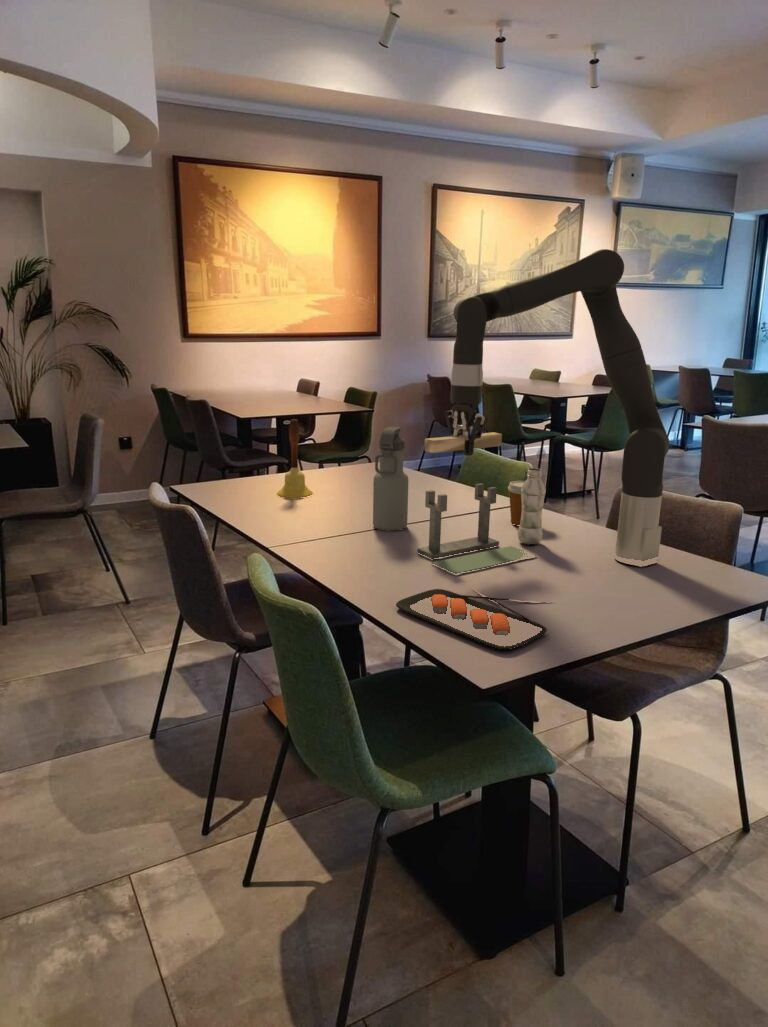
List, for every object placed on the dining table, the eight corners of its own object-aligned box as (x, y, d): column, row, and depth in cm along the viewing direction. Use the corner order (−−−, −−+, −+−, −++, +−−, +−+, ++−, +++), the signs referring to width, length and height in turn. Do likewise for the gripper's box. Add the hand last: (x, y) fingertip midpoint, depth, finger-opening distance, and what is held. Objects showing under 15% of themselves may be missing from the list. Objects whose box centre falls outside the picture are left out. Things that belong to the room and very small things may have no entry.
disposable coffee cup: (524, 530, 203) (527, 489, 200) (498, 523, 210) (501, 483, 207) (545, 525, 209) (548, 484, 205) (520, 518, 216) (522, 479, 213)
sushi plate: (389, 612, 145) (389, 594, 144) (483, 578, 166) (483, 563, 165) (505, 661, 125) (506, 640, 124) (596, 616, 145) (597, 598, 144)
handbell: (279, 489, 247) (278, 416, 240) (315, 490, 246) (315, 417, 240) (273, 498, 235) (271, 421, 228) (310, 499, 234) (310, 422, 228)
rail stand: (499, 546, 187) (502, 486, 183) (431, 560, 175) (434, 496, 171) (483, 541, 192) (486, 482, 188) (417, 554, 180) (419, 491, 176)
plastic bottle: (542, 541, 193) (548, 468, 188) (540, 548, 187) (546, 472, 182) (518, 539, 195) (523, 466, 189) (515, 546, 188) (520, 471, 183)
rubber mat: (536, 557, 179) (536, 555, 179) (455, 575, 165) (455, 573, 165) (511, 548, 186) (511, 545, 186) (431, 564, 172) (431, 562, 172)
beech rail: (501, 445, 182) (502, 434, 181) (432, 453, 170) (432, 440, 169) (493, 444, 184) (493, 432, 183) (424, 451, 172) (424, 438, 172)
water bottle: (400, 533, 198) (403, 432, 190) (367, 529, 201) (368, 429, 193) (411, 524, 207) (414, 427, 200) (379, 520, 210) (381, 425, 203)
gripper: (498, 385, 169) (494, 457, 174) (460, 380, 181) (457, 448, 185) (474, 386, 165) (470, 460, 170) (436, 381, 177) (434, 451, 181)
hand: (463, 453), depth 177 cm, fingers closed on beech rail, 3 cm apart
